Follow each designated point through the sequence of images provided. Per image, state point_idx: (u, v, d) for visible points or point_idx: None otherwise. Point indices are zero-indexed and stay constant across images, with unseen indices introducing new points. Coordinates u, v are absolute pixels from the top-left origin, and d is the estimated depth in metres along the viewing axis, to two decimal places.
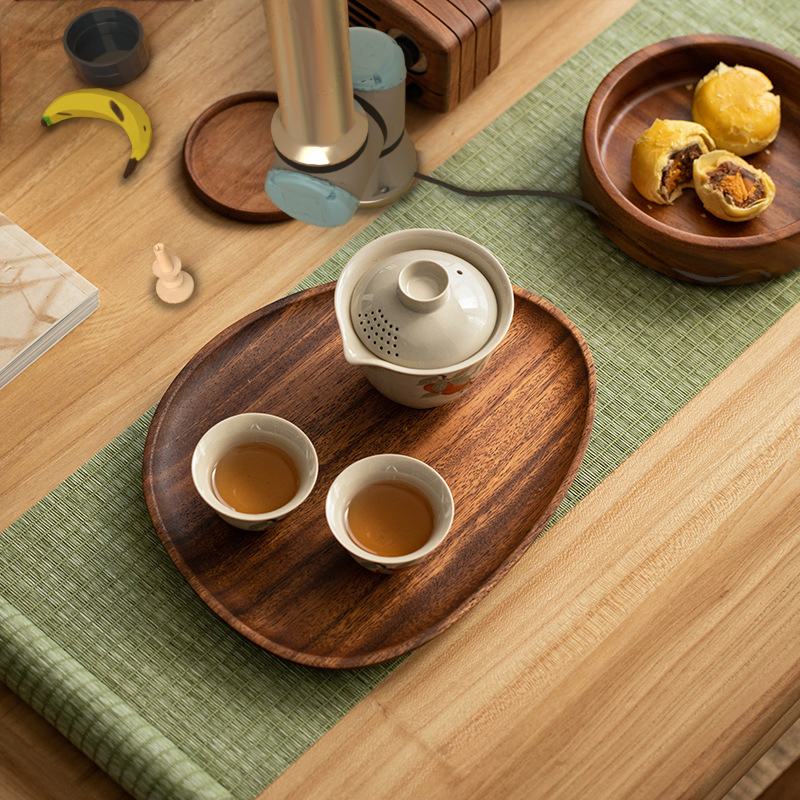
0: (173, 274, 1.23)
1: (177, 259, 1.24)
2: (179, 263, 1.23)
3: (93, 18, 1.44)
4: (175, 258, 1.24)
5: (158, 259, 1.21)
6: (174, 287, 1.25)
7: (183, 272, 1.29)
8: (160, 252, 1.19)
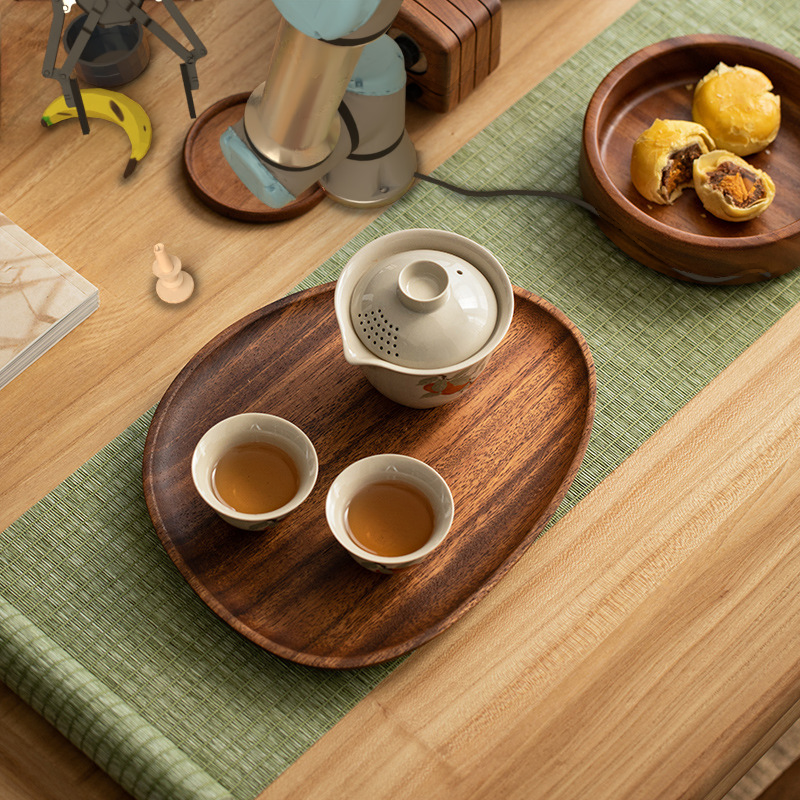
0: (173, 274, 1.23)
1: (177, 259, 1.24)
2: (179, 263, 1.23)
3: None
4: (175, 258, 1.24)
5: (158, 259, 1.21)
6: (174, 287, 1.25)
7: (183, 272, 1.29)
8: (160, 252, 1.19)
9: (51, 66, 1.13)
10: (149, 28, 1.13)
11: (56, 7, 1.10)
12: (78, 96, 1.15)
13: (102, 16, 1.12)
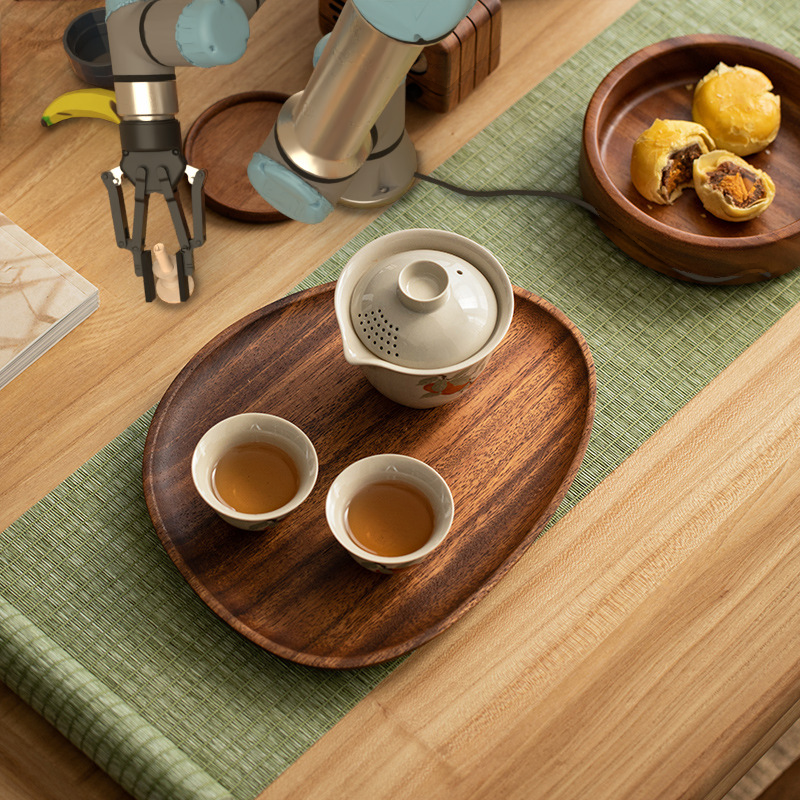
0: (173, 274, 1.23)
1: None
2: None
3: (93, 18, 1.44)
4: (175, 258, 1.24)
5: (158, 259, 1.21)
6: (174, 287, 1.25)
7: None
8: (160, 252, 1.19)
9: (122, 236, 1.19)
10: (169, 204, 1.18)
11: (108, 183, 1.17)
12: (146, 267, 1.21)
13: None
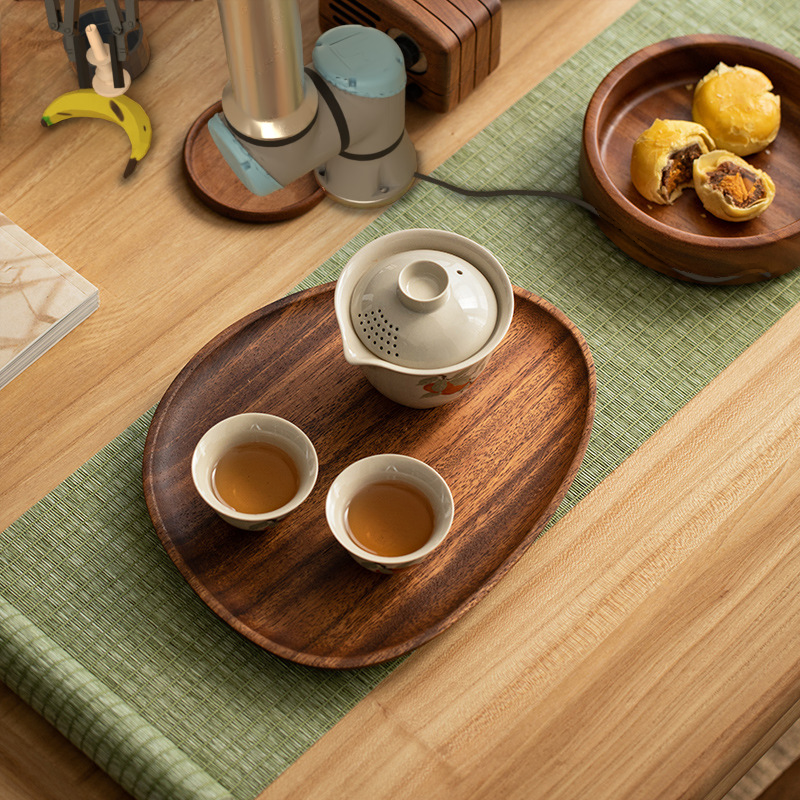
0: (107, 61, 1.22)
1: None
2: None
3: (93, 18, 1.44)
4: None
5: (91, 42, 1.20)
6: (109, 78, 1.25)
7: None
8: (92, 32, 1.19)
9: (54, 17, 1.19)
10: None
11: None
12: (79, 51, 1.20)
13: None
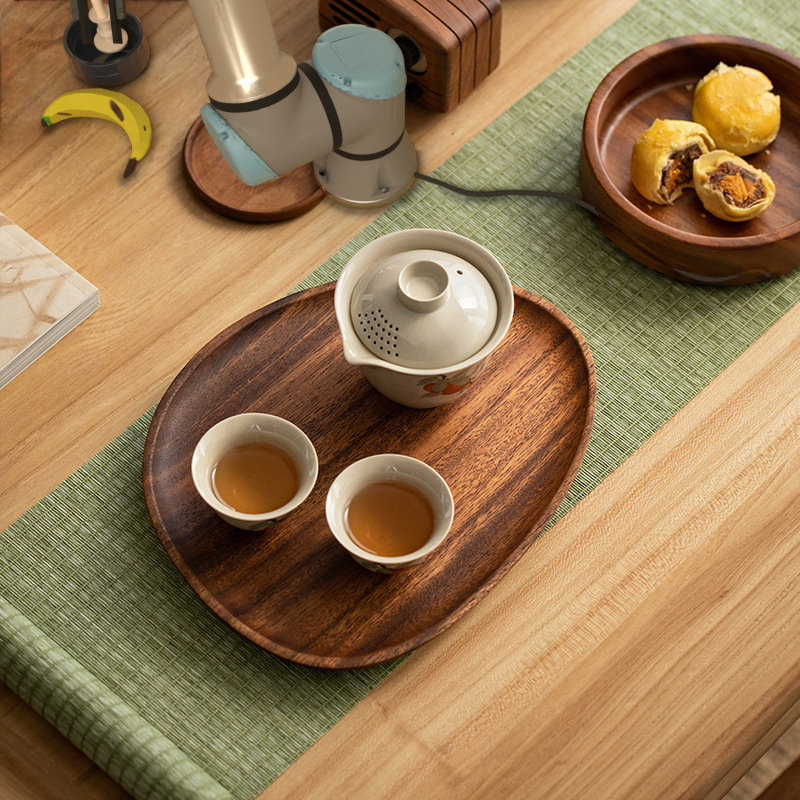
0: (107, 19, 1.38)
1: None
2: None
3: None
4: None
5: (92, 2, 1.35)
6: (109, 36, 1.40)
7: None
8: None
9: None
10: None
11: None
12: (82, 10, 1.36)
13: None
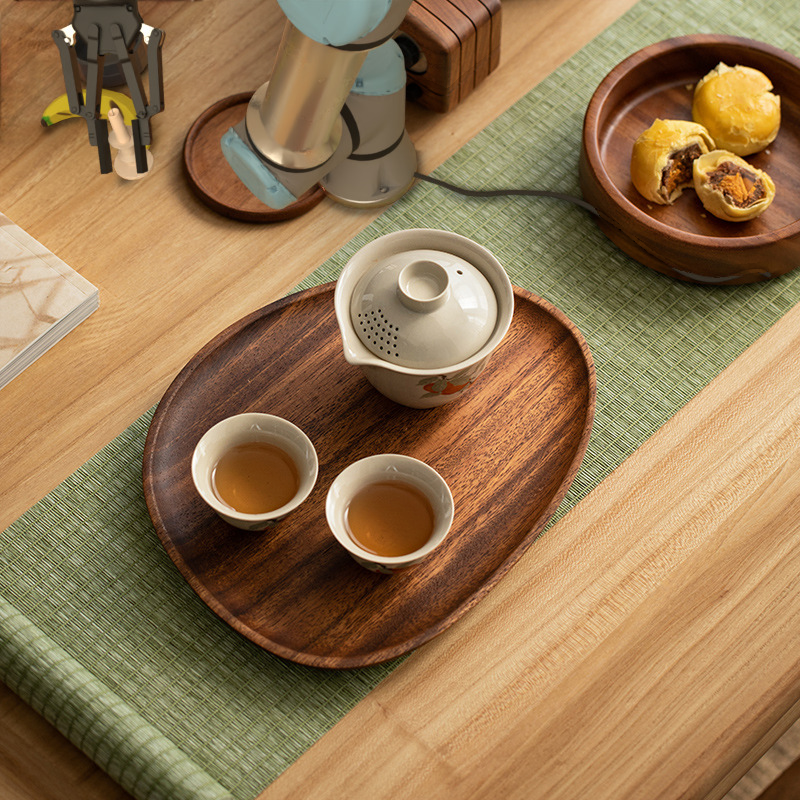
0: (130, 144, 1.17)
1: None
2: None
3: None
4: None
5: (113, 126, 1.15)
6: (132, 161, 1.19)
7: None
8: (114, 117, 1.13)
9: (75, 101, 1.14)
10: (123, 66, 1.12)
11: (59, 42, 1.11)
12: (101, 135, 1.15)
13: None
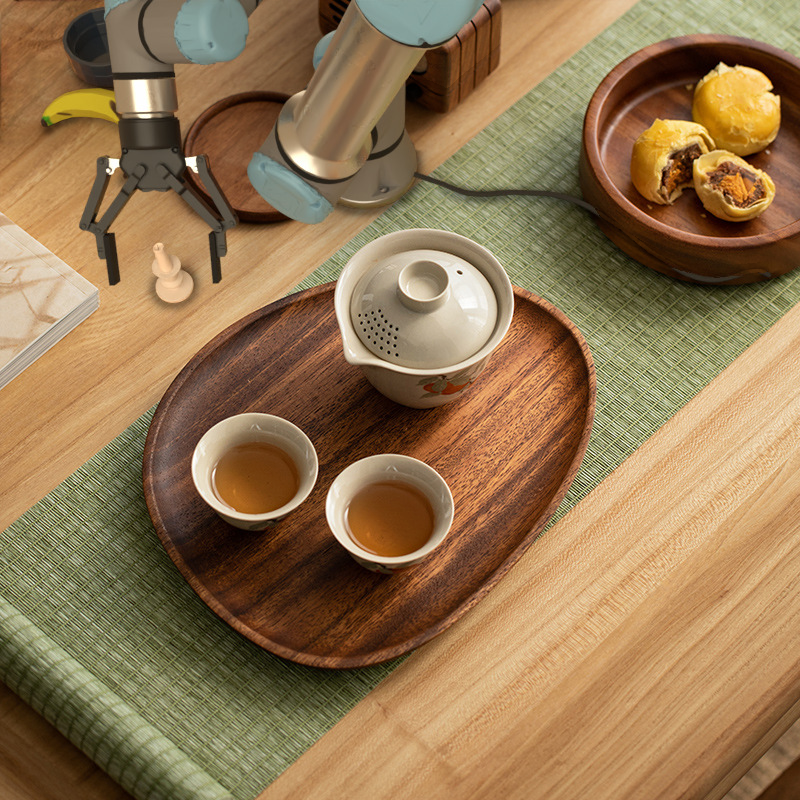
0: (173, 273, 1.23)
1: (176, 258, 1.24)
2: (178, 263, 1.24)
3: (93, 18, 1.44)
4: (175, 257, 1.24)
5: (157, 258, 1.21)
6: (173, 286, 1.25)
7: (182, 271, 1.29)
8: (159, 251, 1.19)
9: (88, 220, 1.18)
10: (183, 196, 1.17)
11: (100, 169, 1.16)
12: (109, 250, 1.20)
13: (141, 181, 1.17)
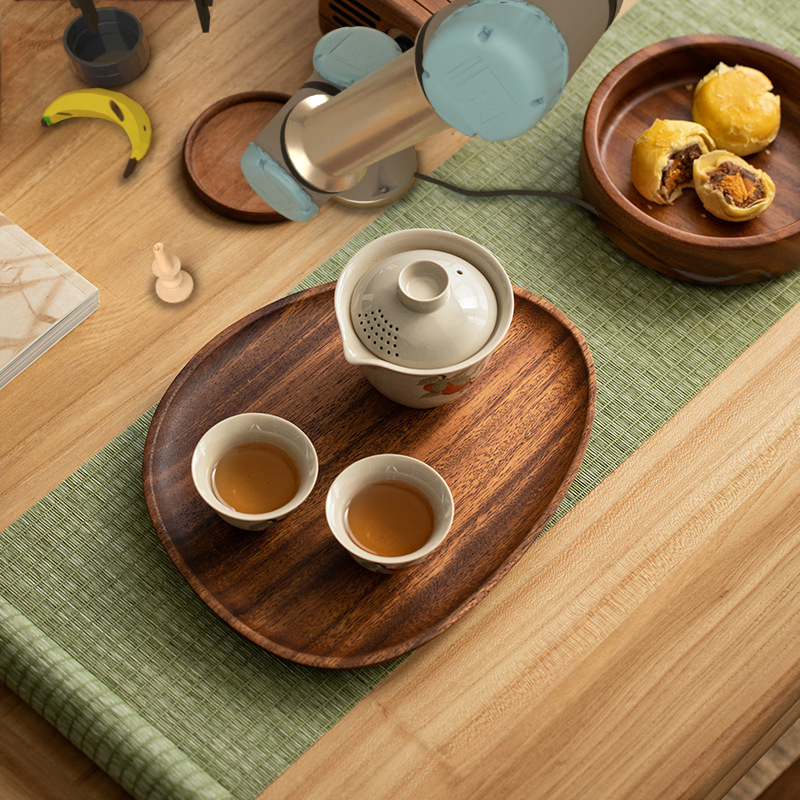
0: (173, 273, 1.23)
1: (176, 258, 1.24)
2: (178, 263, 1.24)
3: None
4: (175, 257, 1.24)
5: (157, 258, 1.21)
6: (173, 286, 1.25)
7: (182, 271, 1.29)
8: (159, 252, 1.19)
9: None
10: None
11: None
12: (83, 3, 1.08)
13: None
